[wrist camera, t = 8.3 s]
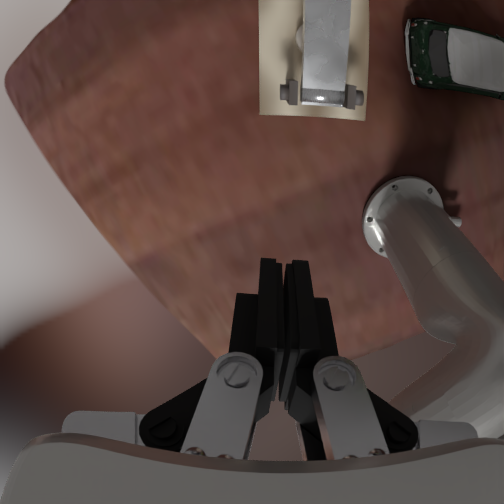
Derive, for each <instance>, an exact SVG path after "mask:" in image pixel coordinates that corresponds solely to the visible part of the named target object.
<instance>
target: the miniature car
mask: <svg viewBox="0 0 504 504" xmlns="http://www.w3.org/2000/svg"><path fill="white" fill-rule="evenodd" d="M408 34H409V39H410V59H411V65H412V68H411V67H410V59H409V40H408ZM405 35H406V56H407V64H408V70H409V71H410V76H411V82H412V83H413V84H414V85H416V84H415V81H414V78H415V79H416V81H417V85H418V87H421V88H428V89H446V90H454V91H461V92H468V93H474V94H480V95H485V96H490V97H493V98H497V99H500V100H504V38H502V37H499V36H498V34H496V36H493V35H490V34H487V33H484V32H480V31H477V30H473V29H470V28H466V27H461V26H456V25H452V24H447V23H441V22H436V21H434V20H432V19H427V18H412V23H411V24H410V19H408V21H407V25H406V29H405Z"/></svg>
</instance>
